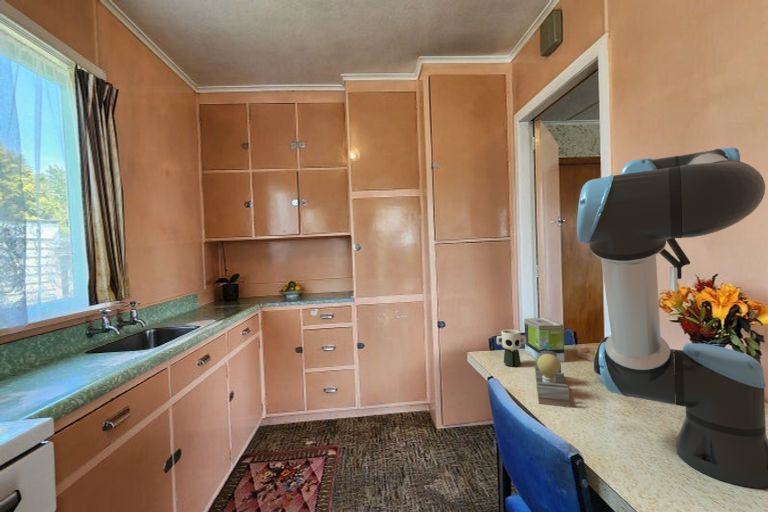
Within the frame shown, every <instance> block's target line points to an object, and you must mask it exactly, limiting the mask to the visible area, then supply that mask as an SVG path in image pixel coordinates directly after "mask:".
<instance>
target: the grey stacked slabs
mask: <svg viewBox="0 0 768 512" xmlns="http://www.w3.org/2000/svg"><path fill="white" fill-rule="evenodd" d="M543 354H551V355H554V356H555V357H557V354H556V352H553V351H541V352H540V356H541V355H543ZM561 365H562V364H561V363H560V369H559V371H558V373H557V374H556V375H555V377H556V384H555V383H544V382H543V380H542V379H543V378H542V376H543V374H542V373H541V371H540V370H539V368H538V366H537V361H534V367H535V368H534V369H535V382H536V391H537V392H536V393H537V399H538V401H537V402H538V405H547V406H556V407H565V408H566V407H567V408H570V407H571V406H570V390H569V389H570V388H569V386H568V384H567V383H566V384H565V374H564V372H562V366H561Z"/></svg>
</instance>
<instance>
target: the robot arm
mask: <svg viewBox="0 0 768 512" xmlns="http://www.w3.org/2000/svg"><path fill="white" fill-rule="evenodd" d="M765 194H766V183H765V180H764V177H763V175H762V174H761V173H760V171H758V170H757V169H756V168H755V167H753V166H752V165H750V164H747V163H745V162H743V161H741V153H740V150H739V149H738V148H736V147H726V148H715V149H712V150H706V151H705V150H704V151H700V152H694V153H689V154H683V155H682V154H680V155H676V156H675V155H674V156H668V157H662V158H657V159H656V158H655V159H654V158H641V159H634V160H631V161H628V162H626V163H625V164H624V166H623V167H622V169H621V170H620V173H619V174H617V175H616V174H615V175H614V174H609V175H608V176H604V177H598V178H593V179H590V180H588V181H586V182H585V183H584V184H583V185H582V188H581V189H580V194H579V199H578V208H577V217H576V218H577V219H576V235H577V239H578V242H579V243H583V244H588V243H589V244H588V245H589V248H590V252H591V253H592V254H593V255H594V256H595V257H597V258H598V259H600V262H601V263H600V266H601V270H602V276H603V284H604V290H605V298H606V305H607V307H606V308H607V312H608V319H609V327H610V335H609V336H607V337H608V339H607V340H606V342H603V343H602V344H601V345H600V349H599V365H600V374H601V378H602V381H603V382H602V383H603V385H604V387H605V388H606V389H607V390H608V391H609V392H611V393H613V394H618V395H621V396H624V397H625V398H634V399H635V398H636V399H641V400H647V401H653V402H658V403H662V404H667V405H668V404H669V405H675V406H680V407H684V408H685V419H684V422H683V424H682V425H681V428H680V430H679V433H678V435H677V437H676V443H675V445H676V449H675V450H676V454H677V455H678V457H679V458H680V459H681V460H682V462H684V463H686V464H687V465H688V466H690V467H691V468H693V469H695V470H696V471H698V472H701V473H702V474H705V475H707V476H709V477H711V478H713V479H717V480H720V481H723V482H726V483H730V484H733V485H737V486H743V487H748V488H757V489H758V488H759V489H766V488H767V489H768V437H767V432H766V430H767V429H766V427H767V426H766V424H767V423H766V403H765V401H766V400H765V399H766V398H765V388H766V387H767V384H766V382H765V375H764V368H763V366H762V364H761V362H759V361H758V360H757V359H756V358H754V357H752V356H751V355H748V354H746V353H744V352H740V351H738V350H734V349H731V348H727V347H723V346H720V345H714V344H713V345H712V344H706V343H699V342H698V343H695V342H689V343H686V344H684V345H683V347H682V349H674V348H672V349H671V348H670V346H669V344H668V342H667V341H666V340H665V339H664V338H663V337H661V325H660V305H659V288H658V287H659V286H658V285H659V283H658V272H657V271H658V267H657V255H658V254H660V255H661V256H662V257H663V259H665V260H666V261H667V262H668V263H670V265H672V266H671V267H669V279H670V280H669V283H670V288H669V290H670V291H672V292H675V293H676V292H679V284H678V281H679V280H681V279H682V275H683V273H682V272H683V271H682V268H683V267H684V266H688V265H690V264H691V261H690V259H689V258H688V256H687V255H686V252H684V250H683V249H682V247H681V246H680V245H679V243H678V241H677V240H676V239H685V238H687V239H688V238H696V237H700V236H701V237H704V236H706V235H709V234H714V233H717V232H719V231H722V230H726V229H727V228H729V227H732V226H734V225H736V224H738V223H739V222H741V221H743V220H744V219H745V218H747V217H749V216H750V215H751V214H752V213H753V212H754V211H755V210H756V209H757V208H758V207H759V205H760V204H762V201H763V199H764V197H765ZM667 244H668V246H669V247H670V249H671V250H672V251H673V253H674V254H675V256H676V257H675V256H673V255H672V254H671V253H670V252H669V251H668V250H667V249H666V245H667Z"/></svg>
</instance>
